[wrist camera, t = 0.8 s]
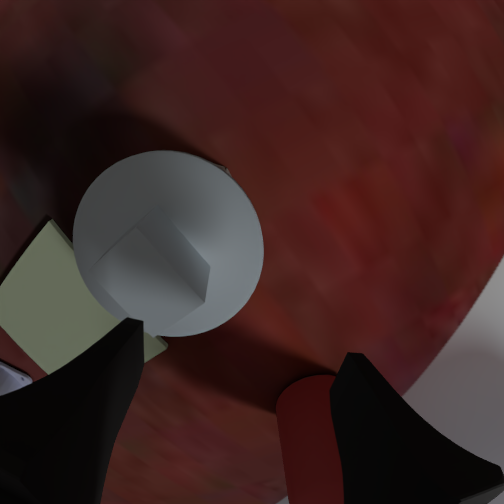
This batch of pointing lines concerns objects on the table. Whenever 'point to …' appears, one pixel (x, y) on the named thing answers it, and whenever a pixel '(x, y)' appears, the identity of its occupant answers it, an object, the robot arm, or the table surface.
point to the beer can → (309, 442)
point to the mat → (55, 305)
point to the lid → (168, 243)
